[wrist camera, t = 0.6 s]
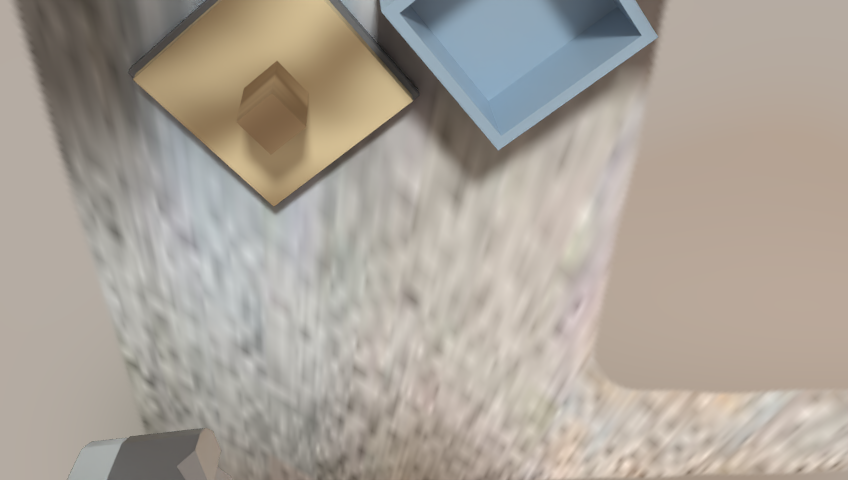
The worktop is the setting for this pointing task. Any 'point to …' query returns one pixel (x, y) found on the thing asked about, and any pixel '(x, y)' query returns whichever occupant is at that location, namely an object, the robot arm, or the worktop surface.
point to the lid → (274, 88)
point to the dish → (518, 52)
